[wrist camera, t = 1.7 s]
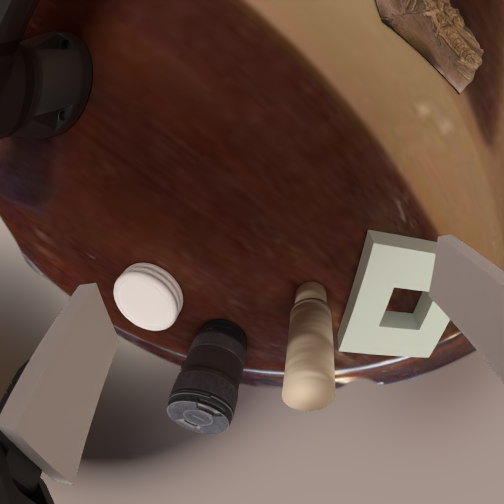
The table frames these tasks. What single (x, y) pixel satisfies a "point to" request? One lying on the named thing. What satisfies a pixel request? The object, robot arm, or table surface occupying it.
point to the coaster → (148, 296)
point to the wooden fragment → (436, 36)
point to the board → (379, 292)
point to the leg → (309, 351)
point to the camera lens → (209, 379)
